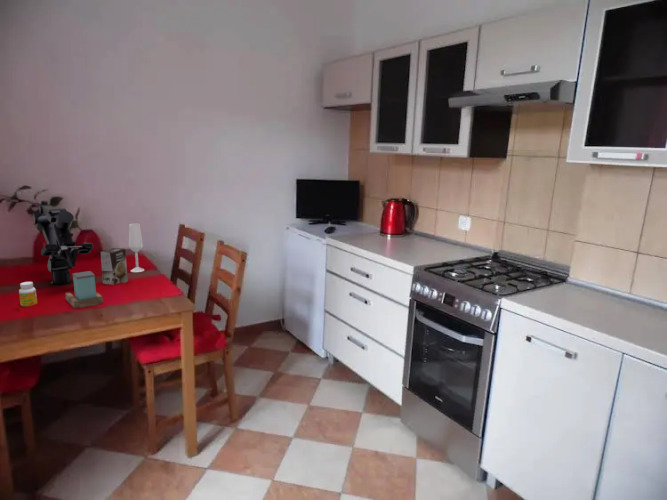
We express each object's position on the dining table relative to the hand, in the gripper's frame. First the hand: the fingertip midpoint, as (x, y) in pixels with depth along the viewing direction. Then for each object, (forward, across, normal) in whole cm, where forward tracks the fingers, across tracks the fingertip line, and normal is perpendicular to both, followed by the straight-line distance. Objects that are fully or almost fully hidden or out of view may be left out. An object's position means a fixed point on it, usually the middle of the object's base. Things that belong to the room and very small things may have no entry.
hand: (73, 266), depth 183 cm
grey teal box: (+19, +2, +6) cm, 20 cm away
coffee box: (+7, -20, -8) cm, 22 cm away
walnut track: (+19, +2, +3) cm, 19 cm away
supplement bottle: (+12, +16, -8) cm, 22 cm away
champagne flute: (-3, -38, -17) cm, 42 cm away
